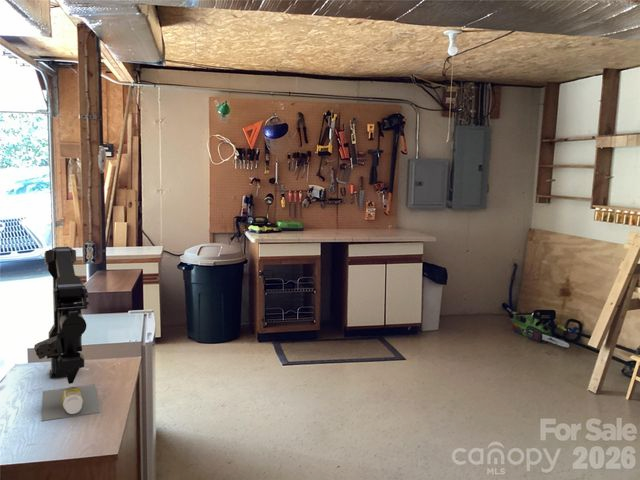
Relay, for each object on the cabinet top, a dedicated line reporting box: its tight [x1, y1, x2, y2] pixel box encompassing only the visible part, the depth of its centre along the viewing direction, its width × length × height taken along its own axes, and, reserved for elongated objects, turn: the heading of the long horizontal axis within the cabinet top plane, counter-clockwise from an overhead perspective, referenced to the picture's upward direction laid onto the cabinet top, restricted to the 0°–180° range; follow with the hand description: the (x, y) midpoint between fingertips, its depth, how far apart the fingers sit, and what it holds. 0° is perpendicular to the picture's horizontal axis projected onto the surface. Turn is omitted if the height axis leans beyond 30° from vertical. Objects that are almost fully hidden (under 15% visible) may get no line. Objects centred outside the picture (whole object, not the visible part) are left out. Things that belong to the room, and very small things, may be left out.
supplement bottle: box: [62, 386, 83, 414], centre depth 141 cm, size 5×5×8 cm
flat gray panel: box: [40, 384, 101, 422], centre depth 146 cm, size 20×14×1 cm
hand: (70, 383), depth 143 cm, fingers closed
